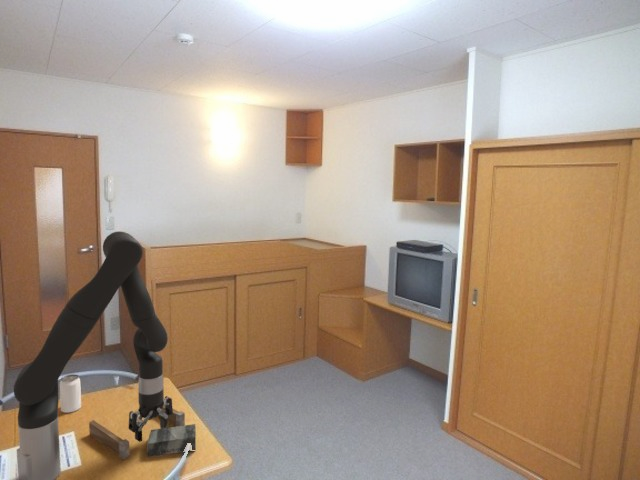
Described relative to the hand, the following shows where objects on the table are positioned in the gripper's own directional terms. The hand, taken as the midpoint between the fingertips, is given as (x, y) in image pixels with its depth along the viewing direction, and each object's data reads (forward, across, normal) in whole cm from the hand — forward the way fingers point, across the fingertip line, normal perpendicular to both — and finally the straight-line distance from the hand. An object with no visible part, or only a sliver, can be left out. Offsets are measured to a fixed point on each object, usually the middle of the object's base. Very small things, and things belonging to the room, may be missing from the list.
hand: (151, 434), depth 137 cm
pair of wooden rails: (+2, 0, +8) cm, 8 cm away
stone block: (+3, +3, -8) cm, 8 cm away
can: (+2, -8, +39) cm, 40 cm away
